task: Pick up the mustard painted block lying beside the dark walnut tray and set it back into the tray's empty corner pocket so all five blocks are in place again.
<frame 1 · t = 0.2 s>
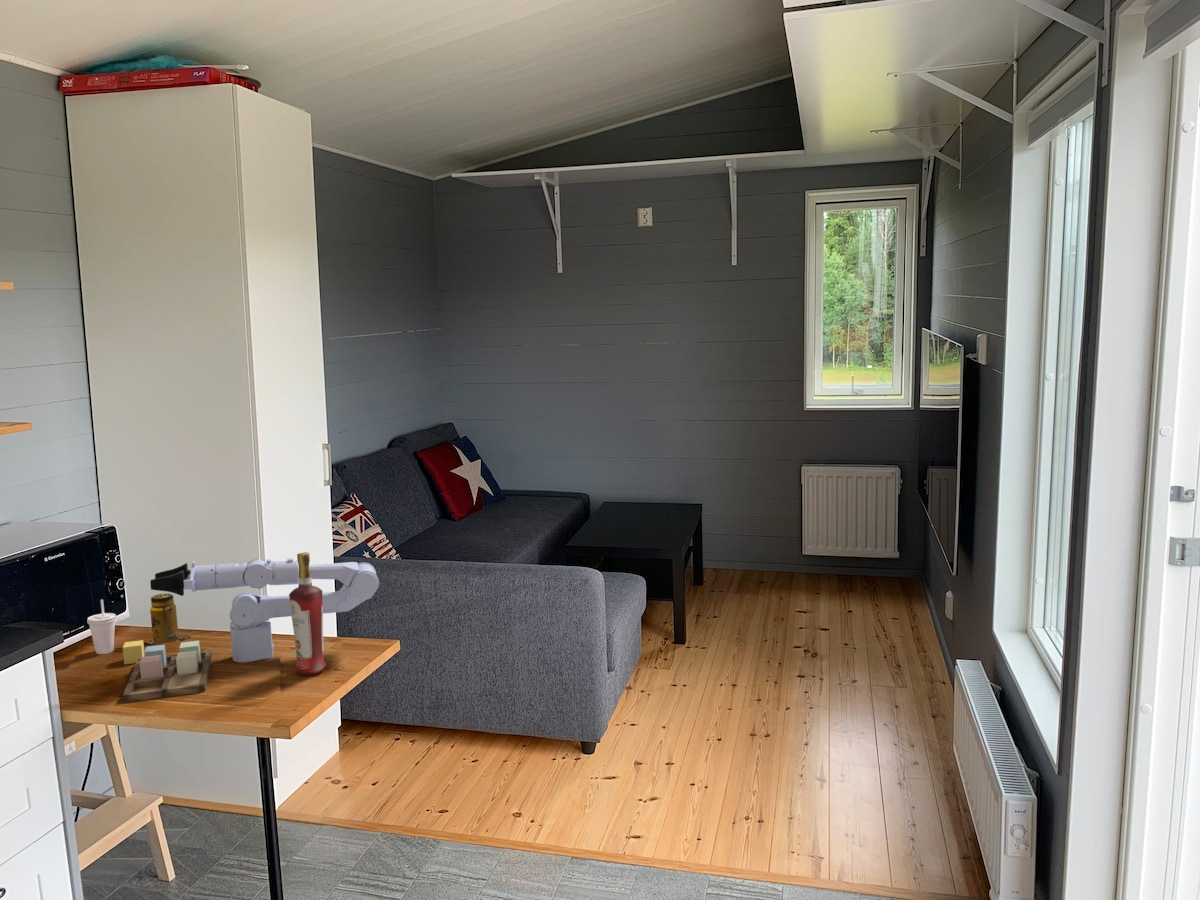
hand: (153, 581, 220), 22 cm above the table, tool horizontal, fingers open, 7 cm apart
rose block: (152, 680, 215), point 1 cm above the table, touching block tray
block tray: (170, 681, 216), on the table
mustard block: (134, 663, 229), on the table
blue block: (156, 668, 222), point 1 cm above the table, touching block tray
smoothie: (105, 655, 235), on the table
condiment: (169, 640, 245), on the table
sage block: (191, 664, 225), point 1 cm above the table, touching block tray
liquor: (311, 672, 220), on the table
cream block: (188, 675, 217), point 1 cm above the table, touching block tray
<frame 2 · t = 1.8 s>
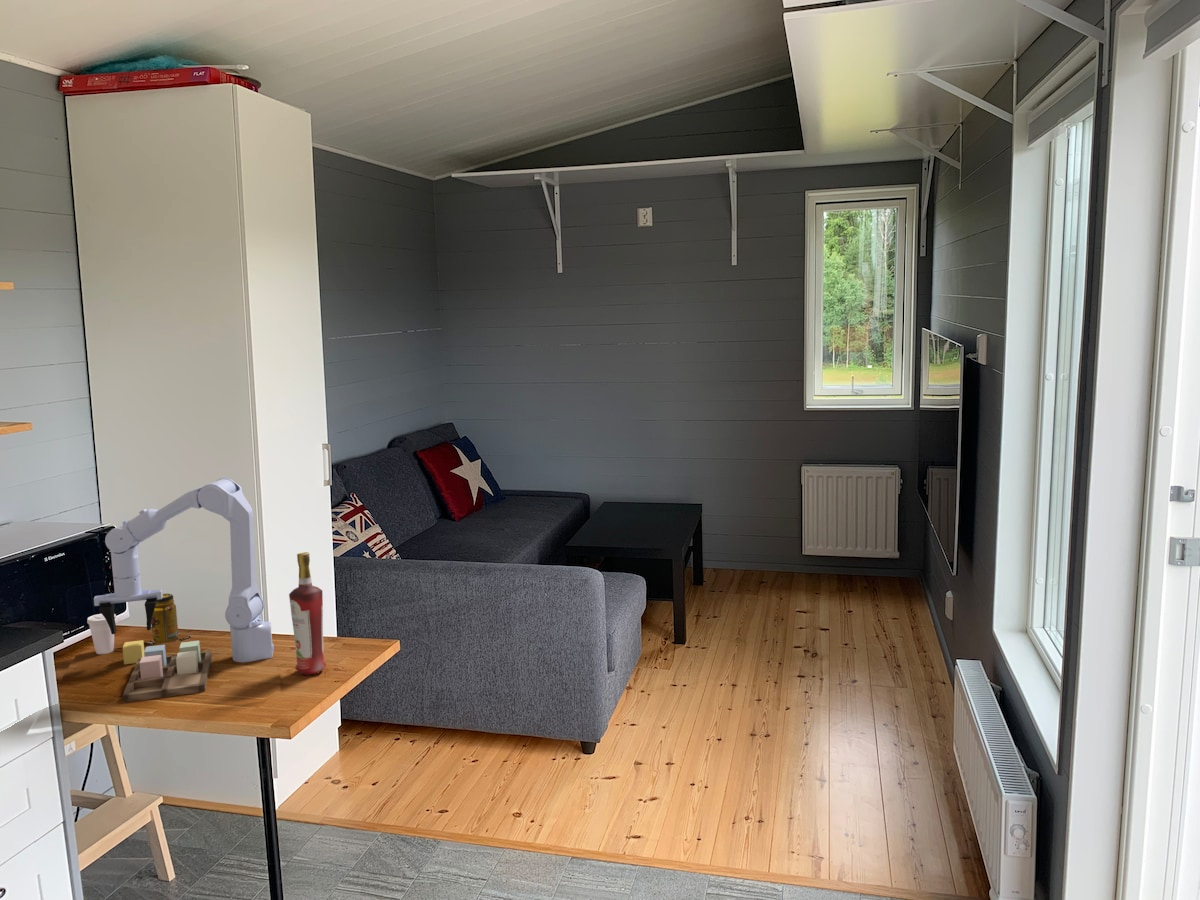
hand: (131, 631, 227), 8 cm above the table, tool pointing down, fingers open, 7 cm apart
nothing on the table moved.
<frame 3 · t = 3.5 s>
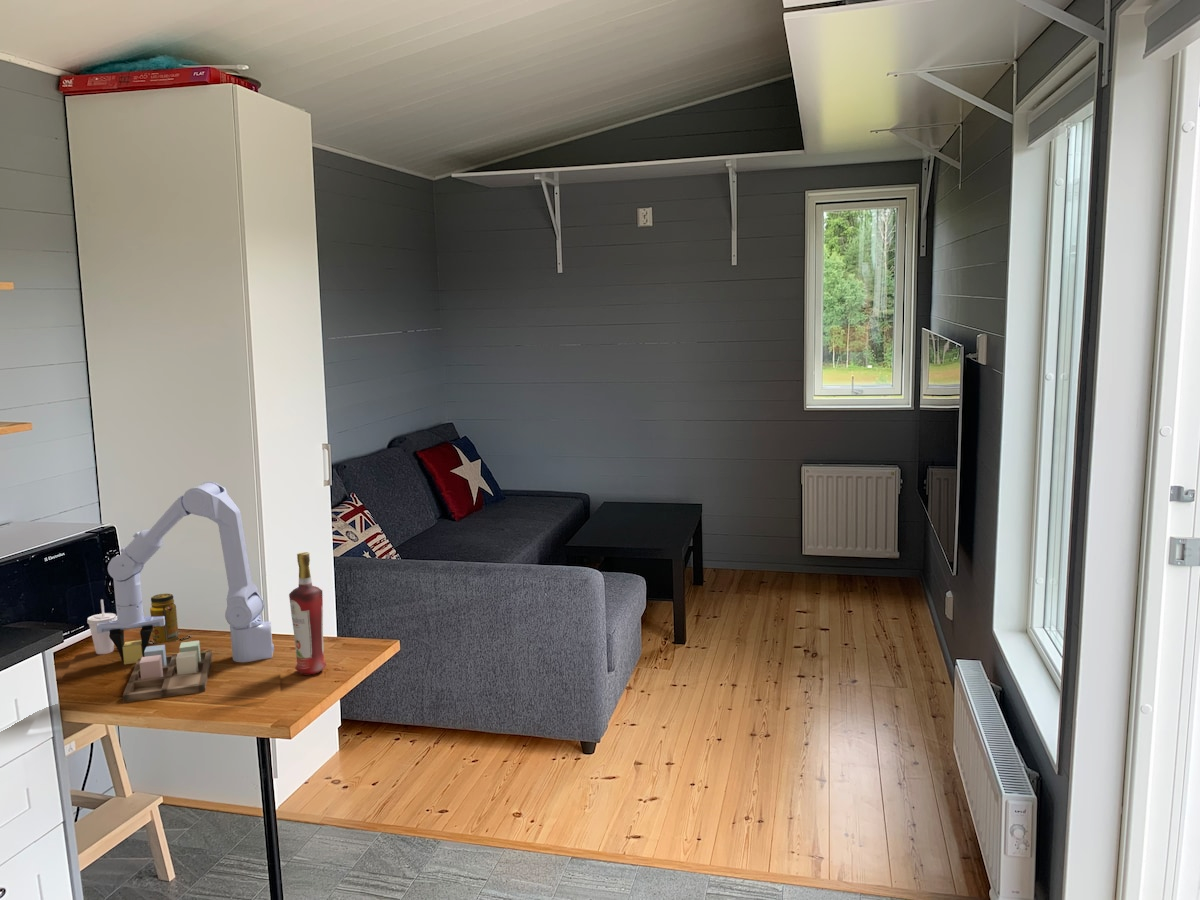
hand: (134, 657, 228), 1 cm above the table, tool pointing down, fingers closed on mustard block, 4 cm apart
mustard block: (134, 663, 229), on the table, touching gripper
everything else where it was.
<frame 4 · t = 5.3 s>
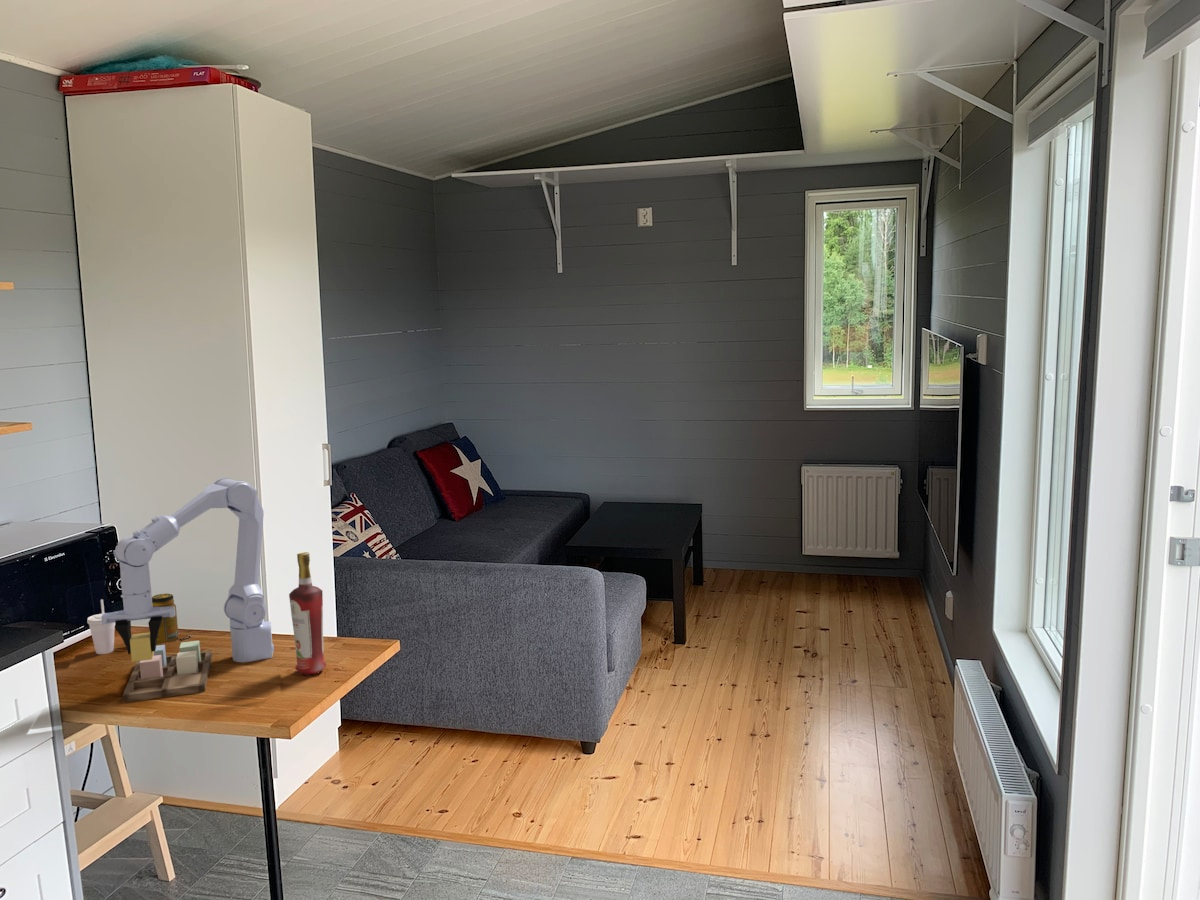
hand: (142, 651, 210), 9 cm above the table, tool pointing down, fingers closed on mustard block, 4 cm apart
mustard block: (143, 657, 211), point 7 cm above the table, touching gripper
everything else where it was.
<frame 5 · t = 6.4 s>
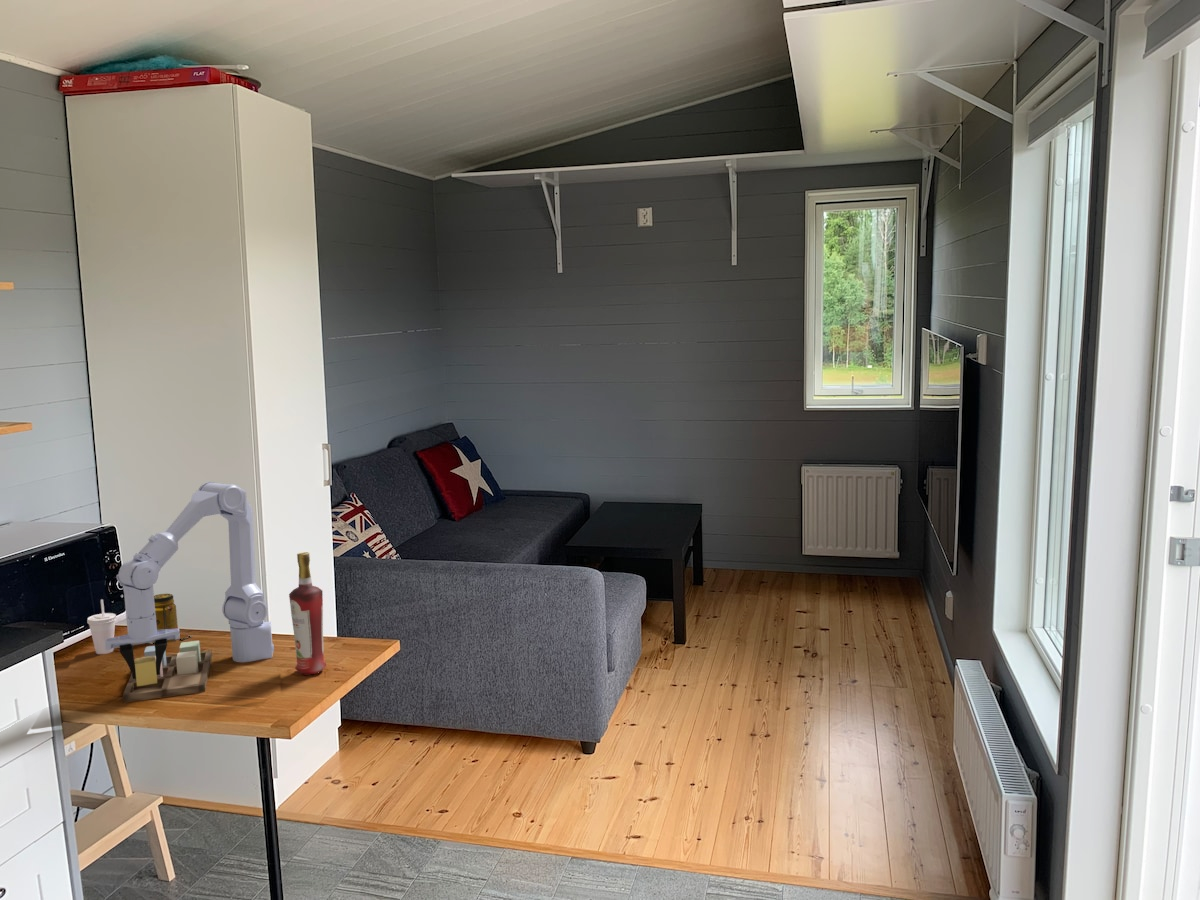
hand: (146, 675, 208), 5 cm above the table, tool pointing down, fingers closed on mustard block, 4 cm apart
mustard block: (147, 681, 208), point 3 cm above the table, touching gripper
everything else where it was.
when the fingers open (4 cm above the table, at t = 7.4 s): mustard block drops 1 cm, resting on block tray.
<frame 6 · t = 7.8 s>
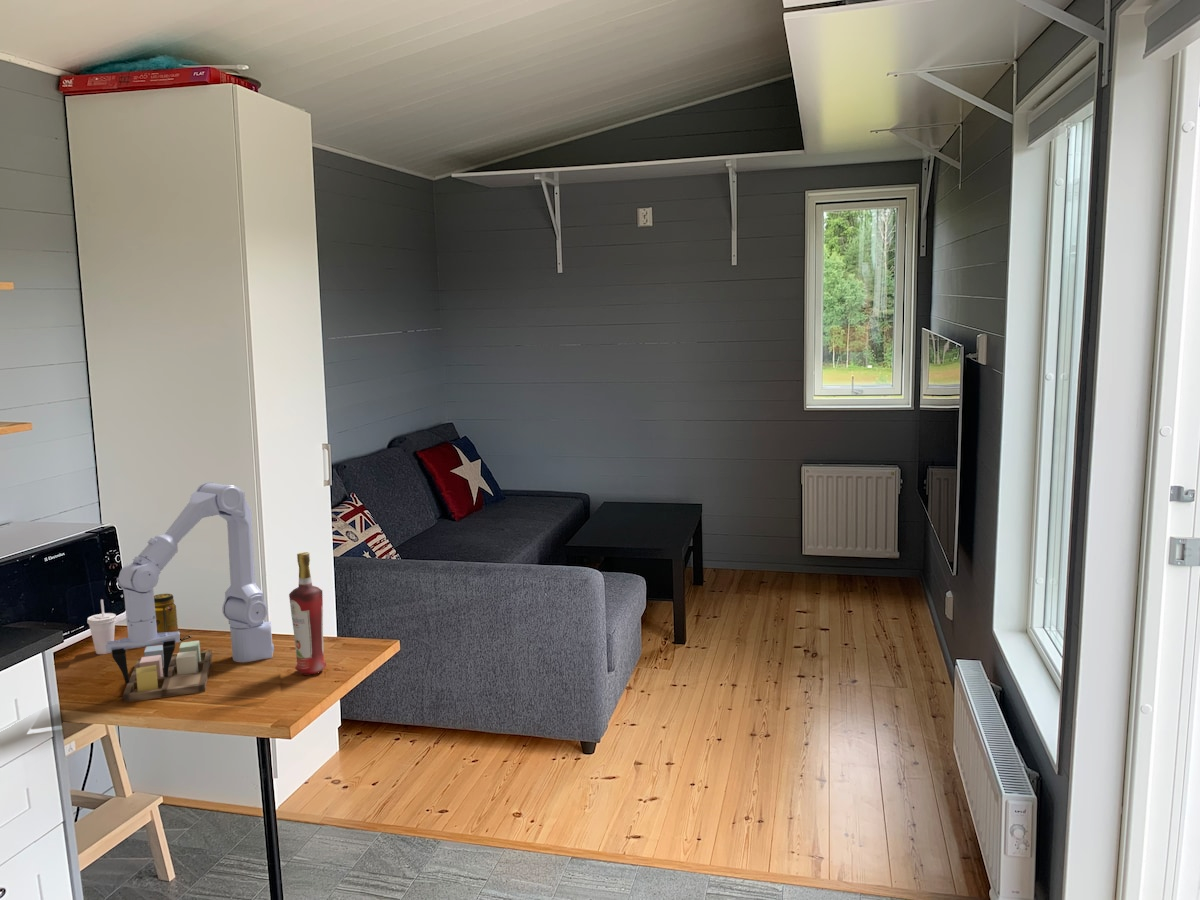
hand: (146, 678, 208), 4 cm above the table, tool pointing down, fingers open, 7 cm apart
mustard block: (148, 691, 208), point 1 cm above the table, touching block tray
everything else where it was.
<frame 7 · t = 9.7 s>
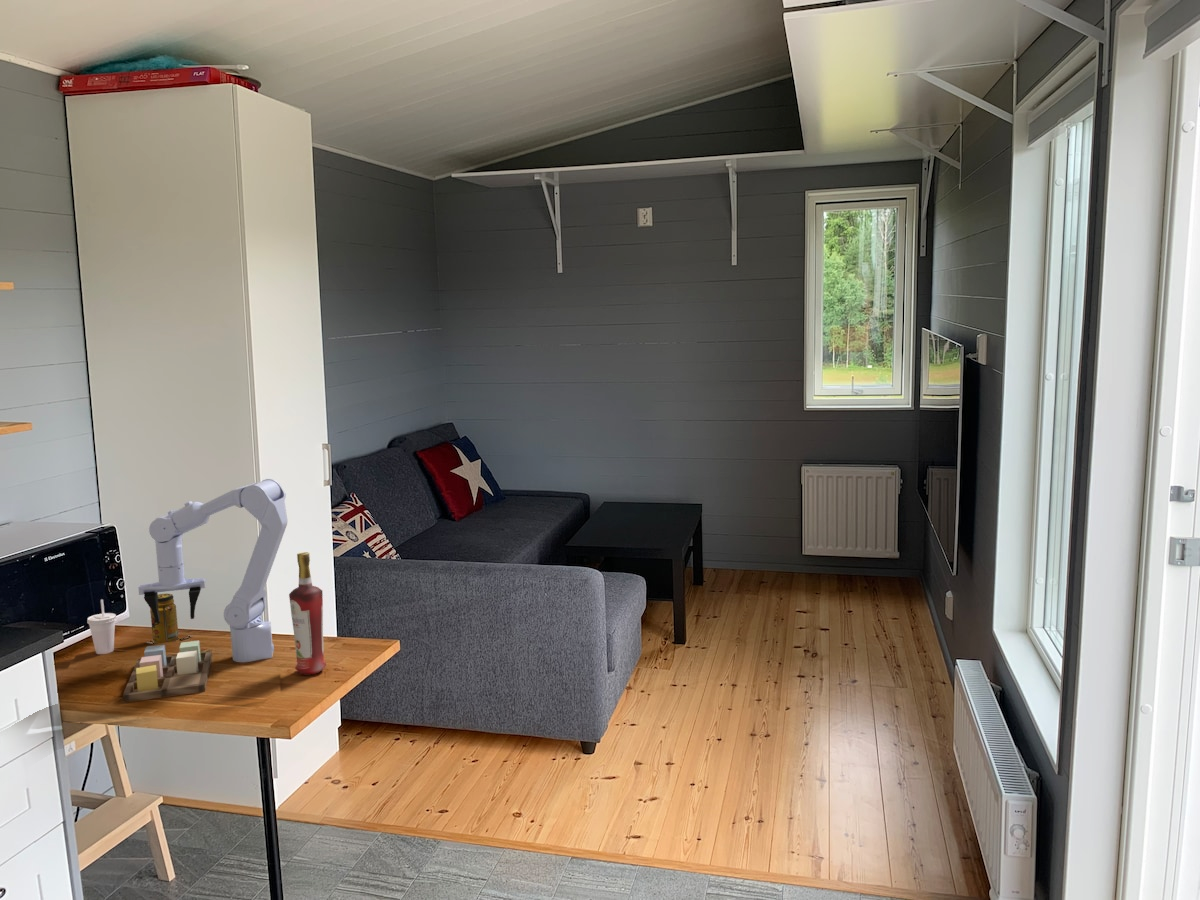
hand: (175, 619, 229), 10 cm above the table, tool pointing down, fingers open, 7 cm apart
nothing on the table moved.
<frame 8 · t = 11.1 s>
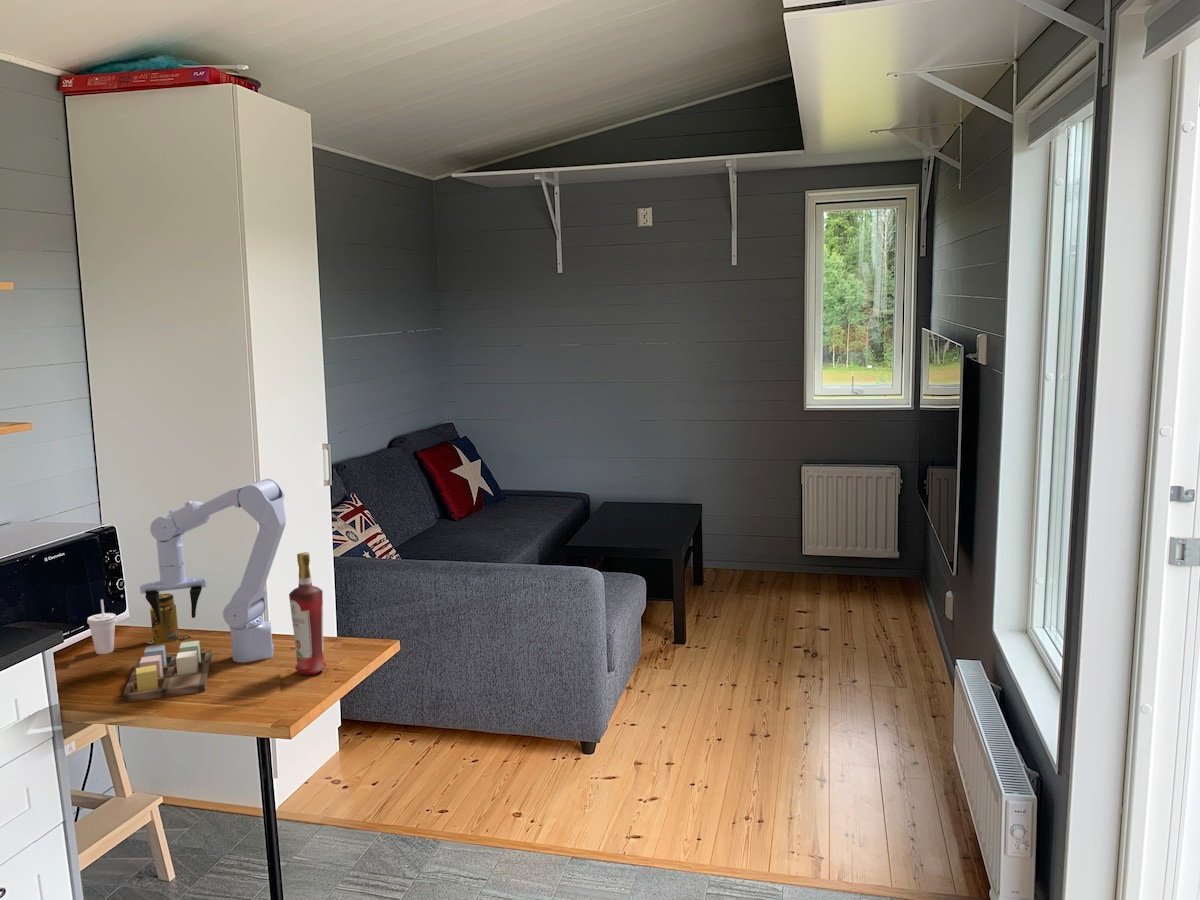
hand: (176, 618, 230), 10 cm above the table, tool pointing down, fingers open, 7 cm apart
nothing on the table moved.
at the end: mustard block 0.5 cm from the target spot on the block tray, point 0.8 cm above the block tray's base; mustard block tilted 0°; the gripper is holding nothing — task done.
